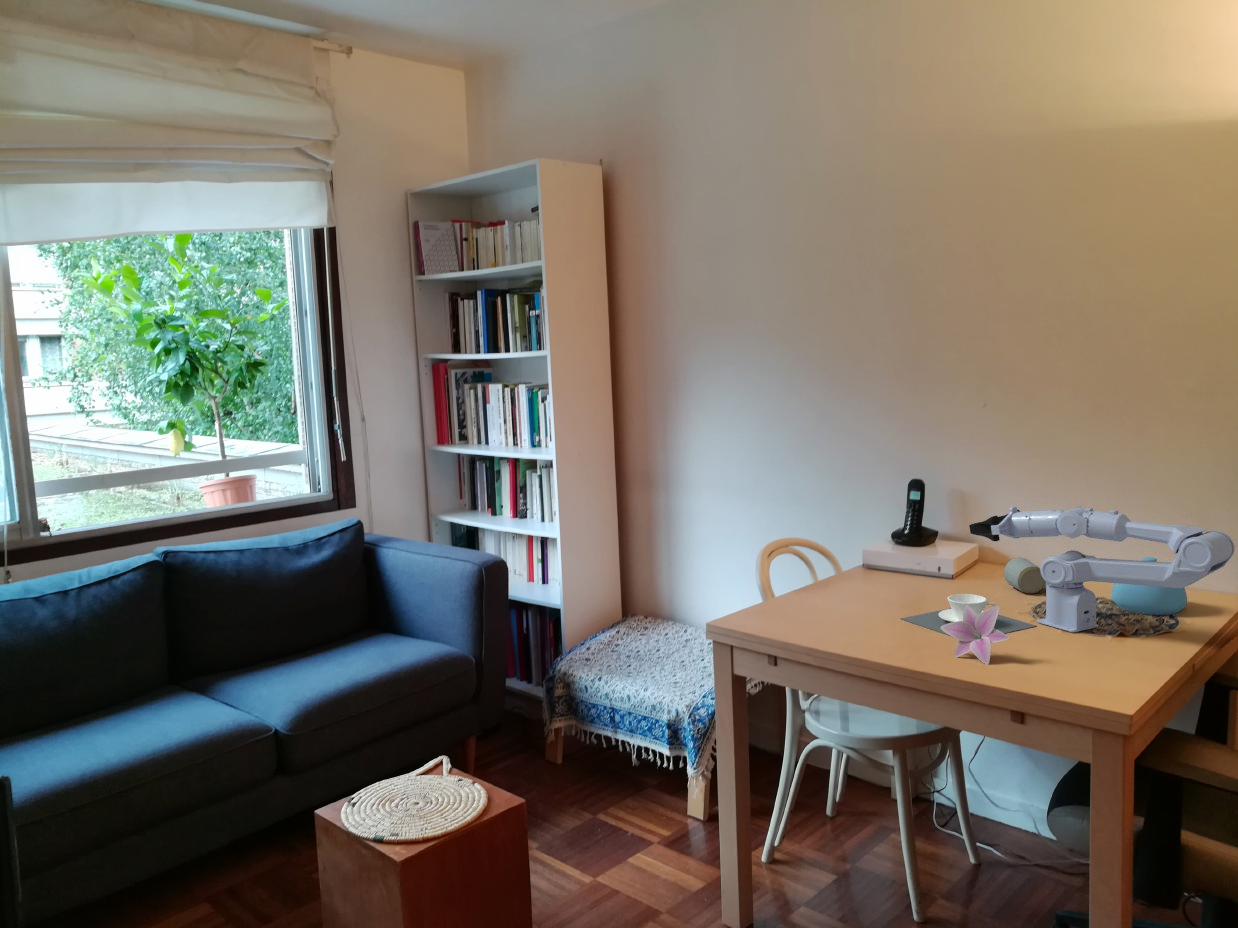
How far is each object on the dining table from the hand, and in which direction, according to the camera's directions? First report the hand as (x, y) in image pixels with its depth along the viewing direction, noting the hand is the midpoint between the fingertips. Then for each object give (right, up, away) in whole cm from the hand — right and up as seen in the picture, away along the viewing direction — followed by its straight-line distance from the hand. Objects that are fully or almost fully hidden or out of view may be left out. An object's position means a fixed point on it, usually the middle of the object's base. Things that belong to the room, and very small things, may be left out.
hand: (980, 526), depth 213 cm
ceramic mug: (+18, -17, +15) cm, 29 cm away
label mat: (-7, -21, -10) cm, 24 cm away
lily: (-13, -24, -31) cm, 41 cm away
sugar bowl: (+37, -19, -4) cm, 41 cm away
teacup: (-7, -21, -10) cm, 24 cm away
